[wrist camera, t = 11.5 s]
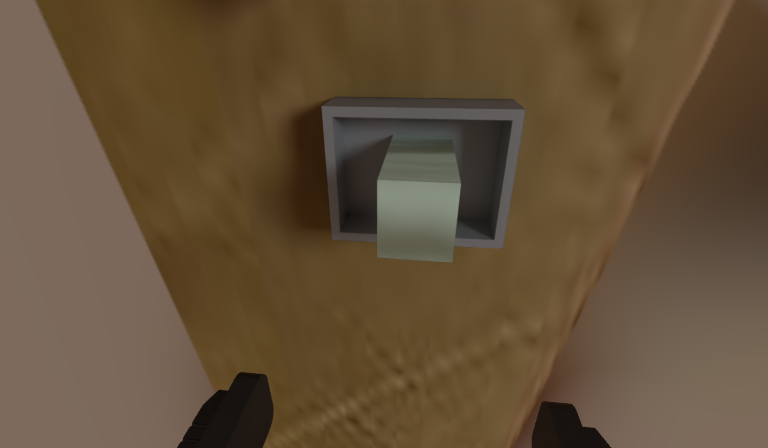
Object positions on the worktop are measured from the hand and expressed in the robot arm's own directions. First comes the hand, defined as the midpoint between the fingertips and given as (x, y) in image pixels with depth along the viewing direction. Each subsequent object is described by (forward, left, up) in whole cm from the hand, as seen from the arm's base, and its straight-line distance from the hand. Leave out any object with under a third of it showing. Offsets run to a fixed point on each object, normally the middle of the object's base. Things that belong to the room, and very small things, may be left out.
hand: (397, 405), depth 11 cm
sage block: (0, 0, -22) cm, 22 cm away
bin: (0, 0, -22) cm, 22 cm away
